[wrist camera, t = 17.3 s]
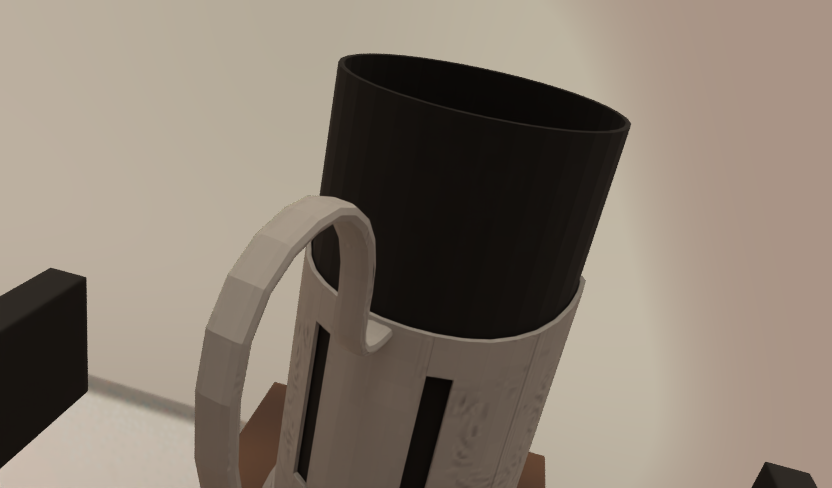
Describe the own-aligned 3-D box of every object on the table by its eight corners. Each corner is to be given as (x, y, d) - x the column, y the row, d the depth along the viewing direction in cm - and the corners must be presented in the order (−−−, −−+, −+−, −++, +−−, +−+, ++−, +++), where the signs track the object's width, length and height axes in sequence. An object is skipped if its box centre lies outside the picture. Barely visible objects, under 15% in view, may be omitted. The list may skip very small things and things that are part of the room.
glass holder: (534, 493, 25) (669, 112, 19) (352, 954, 12) (575, 274, 6) (340, 401, 27) (405, 44, 21) (34, 705, 15) (-14, 67, 9)
